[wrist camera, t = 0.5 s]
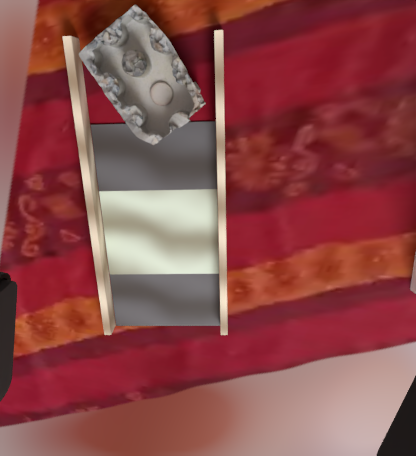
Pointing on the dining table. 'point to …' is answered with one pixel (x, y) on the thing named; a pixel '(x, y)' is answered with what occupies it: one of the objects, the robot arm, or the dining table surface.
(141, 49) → the egg carton
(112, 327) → the channel
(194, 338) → the dining table surface
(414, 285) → the grater
